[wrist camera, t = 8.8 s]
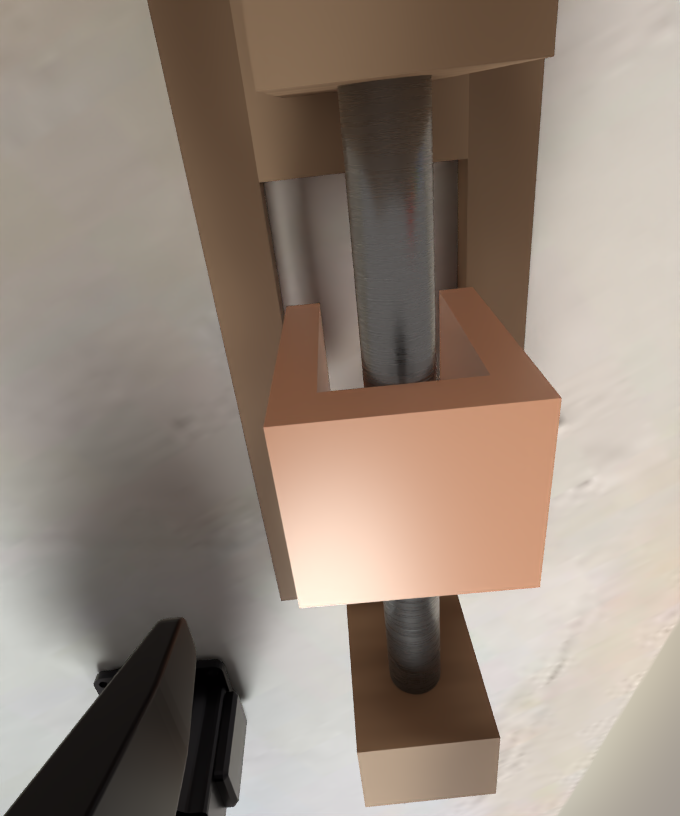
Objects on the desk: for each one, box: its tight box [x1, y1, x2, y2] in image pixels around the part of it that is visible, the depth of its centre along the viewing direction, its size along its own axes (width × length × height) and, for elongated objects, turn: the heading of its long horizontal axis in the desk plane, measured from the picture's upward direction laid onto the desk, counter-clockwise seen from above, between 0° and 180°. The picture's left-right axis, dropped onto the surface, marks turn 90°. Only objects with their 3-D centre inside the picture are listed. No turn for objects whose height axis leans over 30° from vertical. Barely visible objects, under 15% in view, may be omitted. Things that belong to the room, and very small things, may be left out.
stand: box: [147, 0, 558, 807], centre depth 15 cm, size 10×22×10 cm, turn 6°
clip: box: [263, 287, 562, 608], centre depth 14 cm, size 6×5×7 cm
